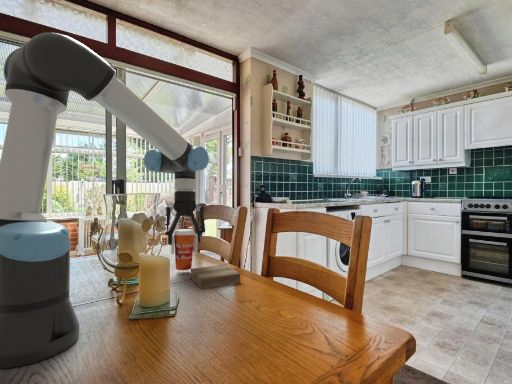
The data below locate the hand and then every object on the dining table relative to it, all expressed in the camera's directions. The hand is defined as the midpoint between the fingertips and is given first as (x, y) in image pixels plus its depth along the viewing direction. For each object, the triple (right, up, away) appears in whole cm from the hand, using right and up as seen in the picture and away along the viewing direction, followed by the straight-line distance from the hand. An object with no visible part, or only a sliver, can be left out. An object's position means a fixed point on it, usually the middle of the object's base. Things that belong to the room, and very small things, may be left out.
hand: (184, 252), depth 104 cm
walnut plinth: (+12, -8, -8) cm, 17 cm away
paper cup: (0, -6, 0) cm, 6 cm away
